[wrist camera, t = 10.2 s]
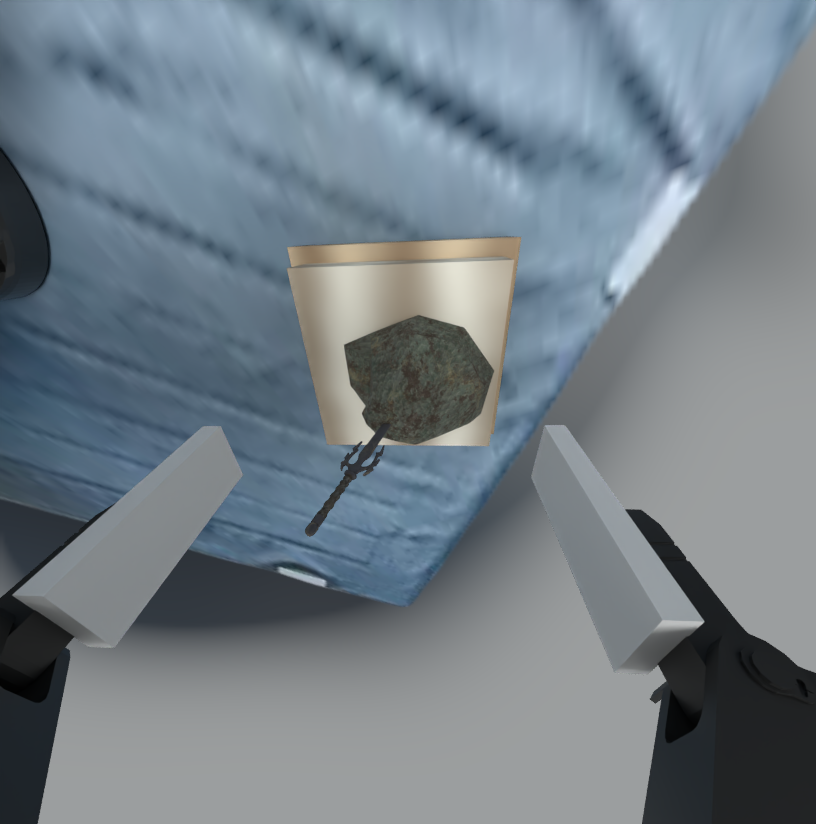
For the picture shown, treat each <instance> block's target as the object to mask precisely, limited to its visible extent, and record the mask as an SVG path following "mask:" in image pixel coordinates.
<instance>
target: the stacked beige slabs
mask: <svg viewBox="0 0 816 824" xmlns="http://www.w3.org/2000/svg"><path fill="white" fill-rule="evenodd" d="M520 242H521V237H489V238H466V239H443V240H420V241H397V242H374V243H351V244H328V245H306V246H296V247H287V249H288V253H289V258H290V262H291V267H290V268H287V272H288V276H289V280H290V285H291V289H292V293H293V298H294V302H295V306H296V310H297V315H298V319H299V323H300V328H301V332H302V336H303V341H304V345H305V349H306V354H307V358H308V362H309V367H310V371H311V375H312V380H313V384H314V388H315V393H316V397H317V401H318V406H319V410H320V414H321V419H322V423H323V427H324V432H325V436H326V440H327V445H357V444H358V443H360V442H361V441H362V444H361V445H367V443H368V442H369V441H370V440H371V438H372V437H373V436H374V434H375V432H374V431H373V430H372V429H371V428H370V427H369V426H368V425H367V424H366V422H365V420H364V418H363V415H362V412H363V410H364V408H365V404H364V403H363V402H362V400H361V399H360V398H359V396H358V395H357V394H356V392H355V391H354V390H353V388H352V387H351V385H350V380H349V374H348V369H347V362H346V356H345V350H344V344H347V343H349V342H351V341H354V340H356V339H359V338H361V337H363V336H366V335H368V334H370V333H373V332H375V331H377V330H380V329H383V328H385V327H388V326H391V325H393V324H396V323H398V322H401V321H404V320H406V319H409V318H412V317H414V316H417V315H421V316H424V317H428V318H431V319H435V320H439V321H442V322H446V323H450V324H453V325H457V326H460V327H464V328H465V329H466V331H467V332H468V333H469V335H470V336H471V338H472V339H473V341H474V342H475V344H476V345H477V346H478V348H479V349H480V351H481V352H482V354H483V355H484V356H485V358H486V359H487V361H488V362H489V364H490V365H491V367H492V368H493V369H494V373H493V377H492V380H491V383H490V386H489V389H488V393H487V396H486V399H485V402H484V406H483V409H482V412H481V414H480V415H479V416H478V417H477V418H475V419H474V420H473V421H472V422H471V423H469V424H467V425H464V426H462V427H460V428H457V429H455V430H453V431H450V432H448V433H446V434H443V435H441V436H438V437H436V438H433V439H430V440H428V441H425V442H422V443H419V444H417V445H433V446H489V442H490V435H491V434H493V433H494V426H495V419H496V412H497V405H498V398H499V391H500V384H501V377H502V369H503V362H504V355H505V348H506V341H507V334H508V327H509V320H510V313H511V306H512V299H513V292H514V285H515V278H516V270H517V263H518V256H519V249H520ZM378 445H413V444H408V443H403V442H397V441H393V440H390V439H386V438H382V439H381V441H380V442H379V444H378Z"/></svg>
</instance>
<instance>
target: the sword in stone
mask: <svg viewBox="0 0 816 824" xmlns="http://www.w3.org/2000/svg"><path fill="white" fill-rule="evenodd" d="M344 350H345V356H346V362H347V369H348V374H349V380H350V385H351V387H352V388H353V390H354V391H355V392H356V394H357V395H358V396H359V398H360V399H361V400H362V402H363V403H364V404H365V408H364V410H363V412H362V415H363V418H364V420H365V422H366V424H367V425H368V426H369V427H370V428H371V429H372V430H373V431H374V432H375V434H374V436H373V437H372V438H371V440H370V441H369V442H368V443H367V445H366V446H365V447H364V449H363V450H362V451H361V452H360V454H359V457H358V460H357V462H356V463H355V464H349V463H348V461H349V459H350V458H351V457H352V456H353V455H354V454H355V453H356V452H357V451H358V449H357V448H358V447H359V446H360V445H361V444H362V441H361V442H360V443H358V444H357V445H356V446H355V447H354V448H353V452H352V453H351V454H350V455H349V453H348V454H347V455H346V457H345V460H344V461H342V462H341V471H342V469H343V467H344V466H345V465H346V466H347V467H348V470H346V471H345V473H344V474H345V476H344V477H343V480H341V481H340V484H339V485H338V486H337V487H336V490H335V491H334V492H333V493H332V494H331V495H330V498H329V499H328V500H327V501H326V502H325V503H324V506H323V508H322V509H321V510H320V511H318V513H317V514H316V515H315V517H314V518H313V520H312V521H311V523H310V524H309V525H308V526H307V527H306V529H305V533H306V534H307V536H309V537H311V536H313V535H314V534H315V533H316V532H317V530H318V528H319V527H320V525H321V524H322V523H323V521H324V520H325V518H326V517H327V514H328V512H329V511H330V510H331V509H332V508H333V507H334V504H335V502H336V501H337V500H338V499H339V498H340V495H341V494H342V493H343V492H344V491H345V488H346V487H347V486H348V485H349V482H351V481H352V480H354V479H356V477H357V476H356V474H358V473H359V472H361V471H365V470H367V471H366V472H365V473H364V474H363V476H366V475H367V474H369V473H370V472H371V471H373V467H374V466H377V464H378V463H379V461H380V460H379V459H378V460H377V458H378V457H379V456H382V454H383V450H384V445H383V448H382V450H381V451H380V452H379V453H376V456H375V459H374V460H373V462H372V463H371V465H369V466H366V467H362V466H361V465H362V463H363V462H364V461H365V460H367V459H368V458H369V457H370V456H371V455H372V453H373V451H374V450H375V448H376V447H377V445H378V444H379V442H380V441H381V439H382V438H386V439H390V440H393V441H397V442H403V443H408V444H413V445H417V444H419V443H422V442H425V441H428V440H430V439H433V438H436V437H438V436H441V435H443V434H446V433H448V432H450V431H453V430H455V429H457V428H460V427H462V426H464V425H467V424H469V423H471V422H472V421H473V420H474V419H475V418H477V417H478V416H479V415H480V414H481V412H482V409H483V406H484V402H485V399H486V396H487V393H488V389H489V386H490V383H491V380H492V377H493V373H494V369H493V368H492V367H491V365H490V364H489V362H488V361H487V359H486V358H485V356H484V355H483V354H482V352H481V351H480V349H479V348H478V346H477V345H476V344H475V342H474V341H473V339H472V338H471V336H470V335H469V333H468V332H467V331H466V329H465V328H464V327H460V326H457V325H453V324H450V323H446V322H442V321H439V320H435V319H431V318H428V317H424V316H421V315H417V316H414V317H412V318H409V319H406V320H404V321H401V322H398V323H396V324H393V325H391V326H388V327H385V328H383V329H380V330H377V331H375V332H373V333H370V334H368V335H366V336H363V337H361V338H359V339H356V340H354V341H351V342H349V343H347V344H344Z"/></svg>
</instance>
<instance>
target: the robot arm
mask: <svg viewBox="0 0 816 824" xmlns="http://www.w3.org/2000/svg"><path fill="white" fill-rule="evenodd" d="M47 266H48V249H47V242H46V237H45V233H44V229H43V226H42V223H41V220H40V218H39V215H38V212H37V210H36V208H35V206H34V204H33V201H32V199H31V197H30V195H29V194H28V192H27V190H26V188H25V186H24V185H23V183H22V181H21V180H20V178H19V176H18V175H17V173H16V172H15V170H14V169H13V167H12V166H11V164H10V163H9V162H8V160H7V159H6V157H5V156H4V155H3V153H2V152H1V151H0V300H7V299H13V298H19V297H23V296H26V295H28V294H30V293H32V292H33V291H35V290H36V289H37V288H38V287H39V286H40V284H41V283H42V281H43V279H44V277H45V274H46V271H47ZM242 475H243V473H242V471H241V469H240V467H239V465H238V463H237V461H236V458H235V456H234V454H233V452H232V450H231V448H230V445H229V443H228V441H227V439H226V437H225V435H224V433H223V430H222V428H221V426H203V427H202V428H201V429H199V430H198V431H197V432H196V433H195V434H194V435H193V436H191V437H190V438H189V439H188V440H187V441H186V442H185V443H184V444H182V445H181V446H180V447H179V448H178V449H177V450H176V451H175V452H173V453H172V454H171V455H170V456H169V457H168V458H167V459H165V460H164V461H163V462H162V463H161V464H160V465H159V466H158V467H156V468H155V469H154V470H153V471H152V472H151V473H150V474H148V475H147V476H146V477H145V478H144V479H143V480H142V481H141V482H139V483H138V484H137V485H136V486H135V487H134V488H133V489H131V490H130V491H129V492H128V493H127V494H126V495H125V496H124V497H122V498H121V499H120V500H119V501H118V502H117V503H115V504H113V505H112V506H110V507H108V508H107V509H105V510H104V511H102V512H100V513H99V514H97V515H96V516H95V517H93V518H92V519H91V520H90V521H89V522H88V523H86V524H85V525H84V526H83V527H82V528H81V529H80V530H79V532H78V533H75V534H74V535H73V536H71V537H70V538H69V539H68V540H67V541H66V542H65V544H64V545H63V546H60V547H59V548H58V549H56V550H55V551H54V552H53V553H52V554H51V555H50V556H48V557H47V558H46V559H45V560H44V561H43V562H42V563H40V564H39V565H38V566H37V567H36V568H35V569H33V570H32V571H31V572H30V573H29V574H28V575H26V576H25V577H24V578H23V579H22V580H21V581H20V582H18V583H17V584H16V585H15V586H14V587H13V588H12V589H10V590H9V591H8V592H7V593H6V594H5V595H3V596H2V597H1V598H0V824H37V823H38V819H39V813H40V809H41V804H42V798H43V793H44V788H45V783H46V778H47V773H48V768H49V763H50V758H51V753H52V747H53V743H54V737H55V732H56V727H57V722H58V717H59V712H60V707H61V702H62V697H63V692H64V686H65V682H66V676H67V671H68V666H69V661H70V651H69V650H68V649H67V648H65V647H66V646H67V644H68V643H69V642H70V641H71V640H72V639H73V638H74V637H75V638H76V639H78V640H79V641H81V642H82V643H84V644H85V645H87V646H88V647H107V648H114V647H115V646H116V645H117V643H118V642H119V640H120V639H121V638H122V637H123V635H124V634H125V633H126V631H127V630H128V628H129V627H130V626H131V624H132V623H133V622H134V620H135V619H136V618H137V616H138V615H139V614H140V612H141V611H142V610H143V608H144V607H145V606H146V604H147V603H148V602H149V600H150V599H151V597H152V596H153V595H154V594H155V592H156V591H157V590H158V588H159V587H160V585H161V584H162V583H163V581H164V580H165V579H166V577H167V576H168V575H169V573H170V572H171V571H172V569H173V568H174V567H175V565H176V564H177V563H178V561H179V560H180V559H181V557H182V556H183V555H184V553H185V552H186V551H187V549H188V548H189V547H190V545H191V544H192V543H193V541H194V540H195V539H196V537H197V536H198V535H199V533H200V532H201V531H202V529H203V528H204V526H205V525H206V524H207V522H208V521H209V520H210V518H211V517H212V516H213V514H214V513H215V512H216V510H217V509H218V508H219V506H220V505H221V504H222V502H223V501H224V500H225V498H226V497H227V496H228V494H229V493H230V492H231V490H232V489H233V488H234V486H235V485H236V484H237V482H238V481H239V480H240V478H241V477H242ZM531 477H532V480H533V482H534V485H535V487H536V489H537V492H538V494H539V496H540V499H541V501H542V503H543V506H544V508H545V510H546V513H547V515H548V517H549V520H550V522H551V525H552V527H553V529H554V531H555V534H556V536H557V538H558V541H559V543H560V546H561V548H562V550H563V553H564V555H565V557H566V560H567V562H568V564H569V567H570V569H571V571H572V574H573V576H574V578H575V581H576V583H577V586H578V588H579V590H580V593H581V595H582V597H583V600H584V602H585V604H586V607H587V609H588V611H589V614H590V616H591V618H592V621H593V623H594V625H595V628H596V630H597V632H598V635H599V637H600V639H601V642H602V644H603V646H604V649H605V651H606V653H607V656H608V658H609V661H610V663H611V665H612V668H613V670H614V672H615V673H628V674H649V673H650V672H651V671H652V670H653V669H654V668H655V667H656V666H657V665H659V667H660V669H661V671H662V673H663V675H664V677H665V679H666V680H667V681H666V682H665V683H664V684H662V685H661V686H660V687H659V688H658V689H656V690H655V691H654V692H653V694H652V696H651V698H650V700H651V701H653V702H654V703H657V702H658V701H660V700H661V706H660V712H659V718H658V725H657V731H656V738H655V744H654V750H653V757H652V764H651V769H650V776H649V782H648V789H647V796H646V801H645V808H644V815H643V821H642V824H816V673H814V672H811V671H808V670H805V669H803V668H801V667H798V666H797V665H796V664H795V663H794V662H793V661H792V660H790V659H789V658H788V657H787V656H786V655H785V654H784V653H782V652H781V651H779V650H778V649H776V648H775V647H773V646H772V645H770V644H769V643H767V642H766V641H764V640H761V639H759V638H757V637H755V636H753V635H750V634H748V633H747V632H746V631H745V630H744V629H743V628H742V627H741V625H740V624H739V623H738V622H737V621H736V620H735V618H734V617H733V616H732V614H731V613H730V612H729V611H728V609H727V608H726V607H725V606H724V604H723V603H722V602H721V601H720V599H719V598H718V597H717V596H716V595H715V593H714V592H713V591H712V589H711V588H710V587H709V586H708V584H707V583H706V582H705V581H704V579H703V578H702V577H701V575H700V574H699V573H698V572H697V570H696V569H695V568H694V567H693V566H692V564H691V563H690V562H689V561H687V560H686V557H685V556H684V554H683V553H682V552H681V550H680V549H679V548H678V547H677V546H675V545H674V542H673V540H672V539H671V538H670V537H669V535H668V534H667V533H666V532H665V530H664V529H663V528H662V526H661V525H660V524H659V523H657V522H656V521H655V520H654V519H652V518H651V517H650V516H648V515H647V514H646V513H644V512H643V511H642V510H628V509H624V508H623V506H622V505H621V503H620V502H619V501H618V499H617V498H616V496H615V495H614V494H613V492H612V491H611V489H610V488H609V487H608V485H607V484H606V482H605V481H604V480H603V478H602V477H601V475H600V474H599V473H598V471H597V470H596V468H595V467H594V466H593V464H592V463H591V461H590V460H589V458H588V457H587V456H586V454H585V453H584V451H583V450H582V449H581V447H580V446H579V444H578V443H577V442H576V440H575V439H574V437H573V436H572V435H571V433H570V432H569V430H568V429H567V428H566V426H565V425H545V426H544V430H543V433H542V437H541V441H540V445H539V449H538V453H537V457H536V461H535V464H534V468H533V473H532V476H531Z"/></svg>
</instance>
